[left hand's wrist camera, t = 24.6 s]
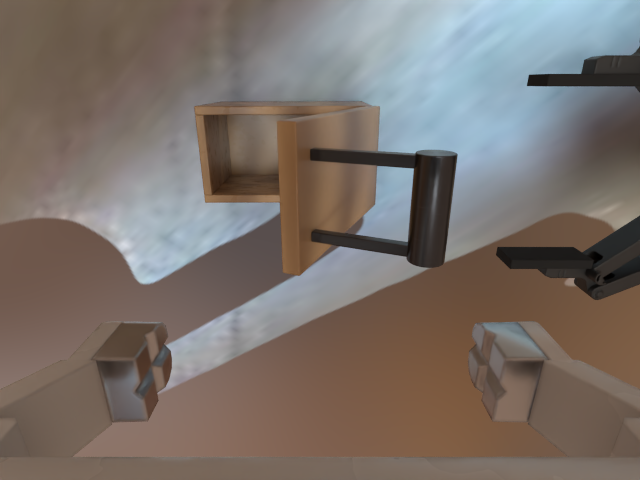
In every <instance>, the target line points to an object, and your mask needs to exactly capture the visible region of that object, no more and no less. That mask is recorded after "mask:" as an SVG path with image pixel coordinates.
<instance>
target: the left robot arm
mask: <svg viewBox="0 0 640 480" xmlns="http://www.w3.org/2000/svg"><path fill="white" fill-rule="evenodd" d="M167 338H168V334H167V329H166V325H165V324H164V323H162V322H104V323H101V324H100V325H99V327H98V328H97V329H96V330H95V331H94V332H93V333H92V334H91V335H90V336H89V337H88V338H87V339H86V341H85V342H84V343H83V344H82V345H81V346H80V347H79V348H78V349H77V350H76V351H75V352H74V354H73V355H72V356H71V357H70V358H69V359H68V360H60V361H58V362H56V363H54V364H52V365H50V366H48V367H46V368H44V369H42V370H39V371H37V372H35V373H33V374H31V375H29V376H27V377H25V378H23V379H21V380H19V381H17V382H14V383H12V384H10V385H8V386H6V387H4V388H2V389H0V480H640V389H638V388H636V387H634V386H632V385H630V384H628V383H625V382H623V381H621V380H619V379H617V378H615V377H613V376H611V375H609V374H607V373H605V372H603V371H600V370H598V369H596V368H594V367H592V366H590V365H588V364H586V363H584V362H582V361H580V360H572V359H571V358H570V357H569V356H568V355H567V354H566V352H565V351H564V350H563V349H562V348H561V347H560V346H559V345H558V344H557V343H556V342H555V340H554V339H553V338H552V337H551V336H550V335H549V334H548V333H547V332H546V331H545V330H544V329H543V327H542V326H541V325H540V324H539V323H537V322H534V321H529V322H503V323H476V324H475V326H474V328H473V333H472V338H473V339H474V341H475V343H476V345H475V346H474V347H473V348H472V349H471V350H470V351H469V358H468V367H469V374H470V377H471V380H472V383H473V384H474V387H475V388H477V389H478V390H479V391H481V392H482V393H483V395H482V402H483V404H484V406H485V408H486V410H487V412H488V414H489V416H490V418H491V420H492V421H498V422H528V424H529V425H530V426H531V427H532V428H533V429H535V430H536V431H537V432H538V433H539V434H541V435H542V436H543V437H544V438H546V439H547V440H548V441H549V442H550V443H552V444H553V445H554V446H555V447H557V448H558V449H559V450H560V451H561V452H563V453H564V454H565V455H566V456H568V457H73V456H74V455H75V454H76V453H77V452H79V451H80V450H81V449H82V448H84V447H85V446H86V445H87V444H88V443H90V442H91V441H92V440H93V439H94V438H96V437H97V436H98V435H99V434H101V433H102V432H103V431H104V430H106V429H107V428H108V427H109V426H110V425H112V422H140V421H148V420H149V418H150V416H151V414H152V412H153V410H154V408H155V406H156V404H157V402H158V395H157V393H158V392H159V391H161V390H162V389H163V388H165V387H166V385H167V382H168V380H169V378H170V373H171V369H172V357H171V351H170V350H169V349H168V348H167V347H166V346H165V345H164V343H165V341H166V339H167Z"/></svg>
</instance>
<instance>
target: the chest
mask: <svg viewBox="0 0 640 480" xmlns="http://www.w3.org/2000/svg"><path fill="white" fill-rule="evenodd" d="M365 106H371V105H369V104H366V103H364V102H362V101H286V102H217V103H211V104H205V105H200V106H195V107H194V108H195V115H196V116H195V117H196V126H197V135H198V143H199V152H200V161H201V169H202V178H203V187H204V194H205V202H206V203H210V202H280V192H279V169H278V145H277V121H279V120H286V119H292V118H298V117H304V116H310V115H316V114H322V113H328V112H334V111H340V110H346V109H352V108H358V107H365Z"/></svg>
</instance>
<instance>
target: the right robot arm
mask: <svg viewBox="0 0 640 480" xmlns="http://www.w3.org/2000/svg"><path fill="white" fill-rule="evenodd" d="M527 86H635V87H636V88H637V90H638V91H639V92H640V47H639V48H638V50H637V51H636V52H635V53H634V54H633V55H631V56H596V57H591V58H588V59H586V60H584V64H583V69H582V73H581V74H538V75H529V78H528V83H527ZM496 255H497V256H498V257H499V258H500V259H501V260H502V261H503V262H504V263H505V264H506V265H507V266H508V267H509V268H510V269H538V270H539V271H540V272H542V273H543V274H544V275H545V276H547V277H550V278H575V280H574V283H575V285H576V286H578V287H579V288H580V289H581V290H583V291H584V292H585V293H587V294H588V295H589V296H590V297H592V298H593V299H595V300H599V299H602V298H605V297H608V296H610V295H613V294H615V293H618V292H621V291H623V290H626V289H628V288H631V287H634V286H636V285H639V284H640V216H639V217H637V218H635V219H634V220H632V221H631V222H629V223H628V224H626V225H625V226H623V227H621V228H620V229H618V230H617V231H615V232H614V233H612V234H610V235H609V236H607V237H606V238H604V239H603V240H601V241H600V242H598V243H596V244H595V245H593V246H592V247H590V248H589V249H587V250H585V251H584V252H580V251H579V250H577V249H576V248H574V247H498V248H497V253H496Z"/></svg>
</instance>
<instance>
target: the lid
mask: <svg viewBox="0 0 640 480" xmlns="http://www.w3.org/2000/svg"><path fill="white" fill-rule="evenodd" d="M379 115H380V106H365V107H358V108H352V109H346V110H340V111H334V112H328V113H322V114H316V115H310V116H304V117H298V118H292V119H286V120H279V121H277V145H278V169H279V192H280V216H281V239H282V263H283V273H288V274H293V275H298V276H300V275H301V274H302V273H303V272H304V271H305V270H306V269H307V268H308V267H310V266H311V265H312V264H313V263H314V262H315V261H316V260H317V259H318V258H319V257H320V256H321V255H322V254H323V253H324V252H325V251H326V250H327V249H328V248H330V247H331V246H332V245H336V246H342V247H349V248H355V249H361V250H368V251H374V252H380V253H387V254H393V255H399V256H406V257H407V260H408V262H410V263H411V264H413V265H416V266H419V267H426V268H433V267H439V266H441V265H443V263H444V260H445V252H446V244H447V236H448V228H449V219H450V211H451V203H452V195H453V187H454V179H455V171H456V163H457V153H455V152H451V151H444V150H421V151H417V152H416V153H415V154H414V153H398V152H381V151H378V135H379ZM377 166H389V167H402V168H414V175H413V187H412V199H411V211H410V223H409V234H408V242H403V241H396V240H389V239H382V238H375V237H368V236H361V235H354V234H347V233H345V232H346V231H347V230H349V229H350V228H351V227H352V226H353V225H354V224H355V223H356V222H357V221H358V220H359V219H360V218H361V217H362V216H363V215H364V214H365V213H366V212H368V211H369V210H370V209H371V208H372V207H373V206H374V205H375V195H376V175H377Z"/></svg>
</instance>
